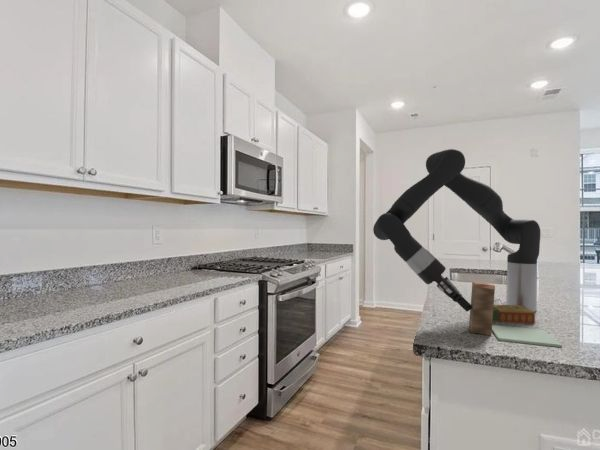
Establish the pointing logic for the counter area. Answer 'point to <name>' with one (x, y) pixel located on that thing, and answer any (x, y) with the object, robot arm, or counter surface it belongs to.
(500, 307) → the carton
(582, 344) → the counter surface
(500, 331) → the mat
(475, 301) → the copper block
